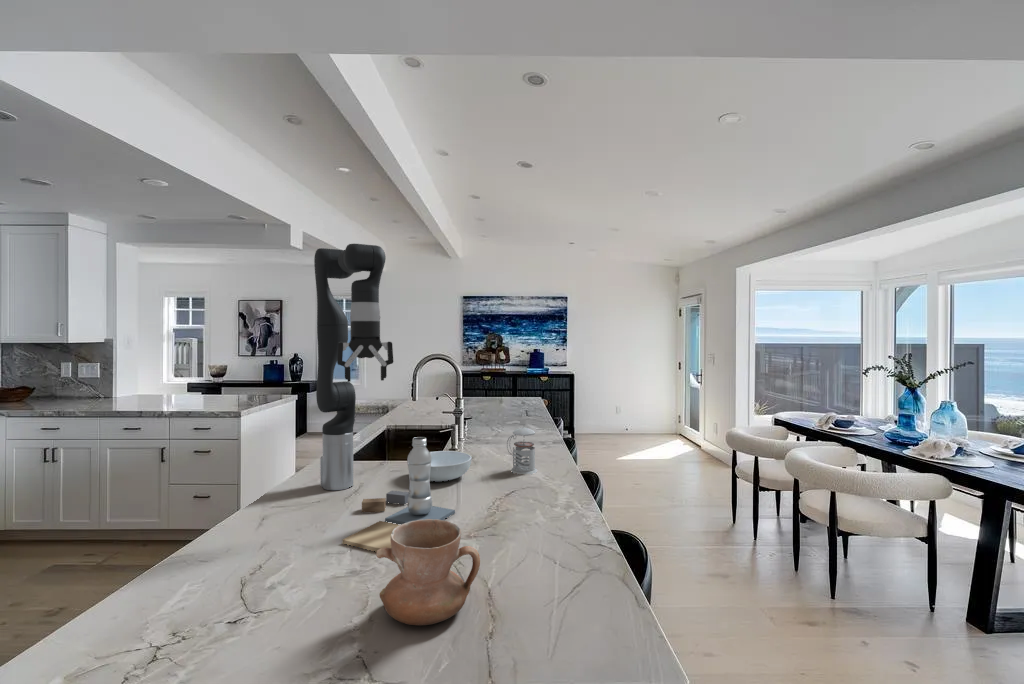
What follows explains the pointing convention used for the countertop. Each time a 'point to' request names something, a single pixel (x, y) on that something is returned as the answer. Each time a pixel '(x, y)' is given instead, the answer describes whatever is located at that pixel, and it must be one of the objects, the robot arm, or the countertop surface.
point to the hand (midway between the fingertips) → (365, 380)
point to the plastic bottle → (419, 478)
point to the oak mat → (372, 536)
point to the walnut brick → (374, 505)
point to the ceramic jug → (426, 572)
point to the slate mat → (405, 515)
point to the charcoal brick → (397, 497)
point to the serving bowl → (448, 465)
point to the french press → (523, 452)
